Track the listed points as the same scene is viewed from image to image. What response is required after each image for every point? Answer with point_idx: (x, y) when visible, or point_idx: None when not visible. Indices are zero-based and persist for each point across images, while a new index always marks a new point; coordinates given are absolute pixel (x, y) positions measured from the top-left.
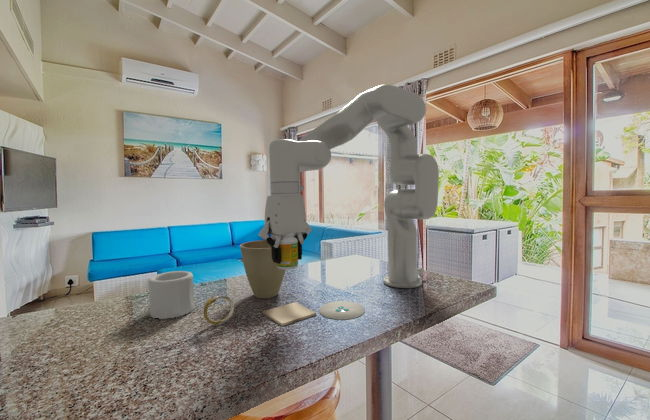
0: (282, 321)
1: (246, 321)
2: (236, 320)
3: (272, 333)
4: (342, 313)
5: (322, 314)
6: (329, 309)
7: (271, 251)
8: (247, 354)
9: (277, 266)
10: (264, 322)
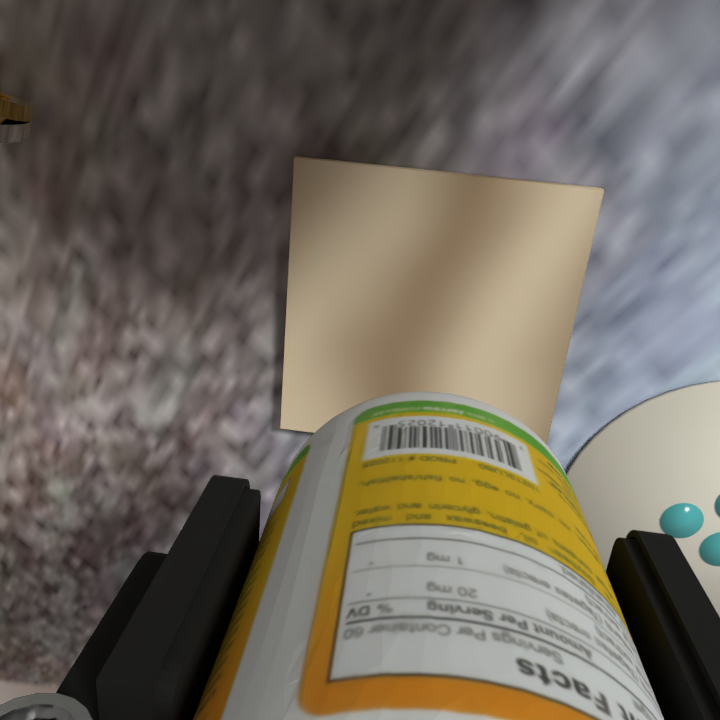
0: (299, 406)
1: (146, 189)
2: (97, 116)
3: (196, 446)
4: None
5: None
6: (662, 468)
7: (88, 641)
8: (16, 516)
9: (280, 485)
10: (231, 296)
